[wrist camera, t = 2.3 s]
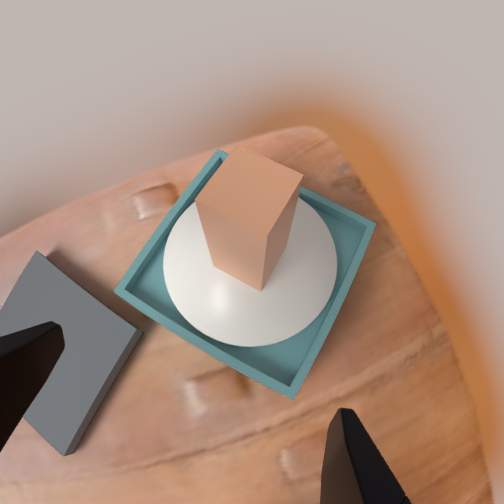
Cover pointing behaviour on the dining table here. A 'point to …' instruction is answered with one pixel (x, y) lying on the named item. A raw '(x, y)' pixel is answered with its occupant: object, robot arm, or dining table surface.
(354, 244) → the tray
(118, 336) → the slate mat
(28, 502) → the dining table surface
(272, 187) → the lid
